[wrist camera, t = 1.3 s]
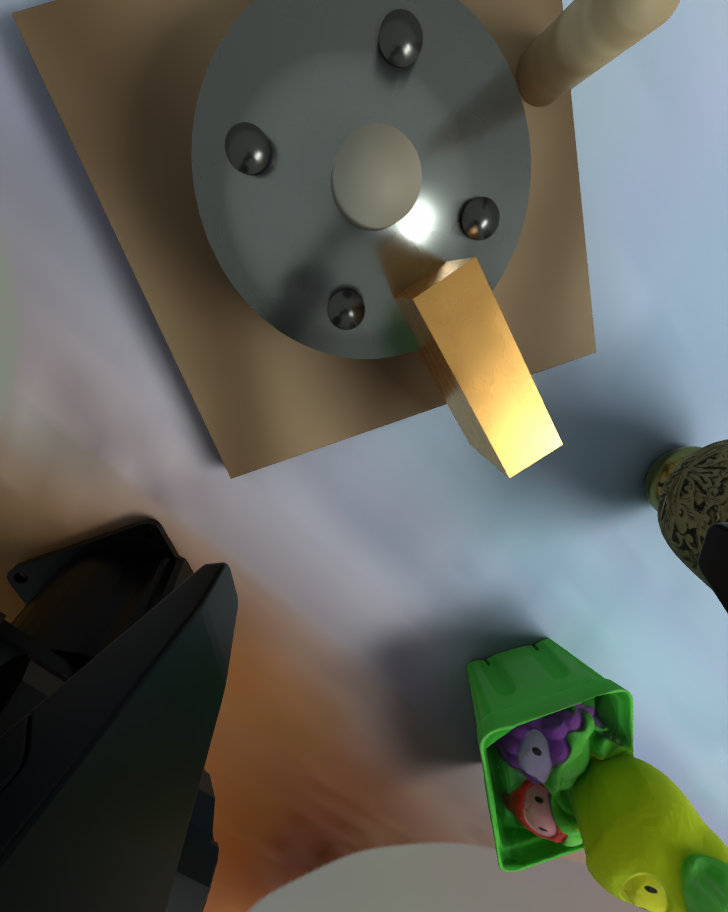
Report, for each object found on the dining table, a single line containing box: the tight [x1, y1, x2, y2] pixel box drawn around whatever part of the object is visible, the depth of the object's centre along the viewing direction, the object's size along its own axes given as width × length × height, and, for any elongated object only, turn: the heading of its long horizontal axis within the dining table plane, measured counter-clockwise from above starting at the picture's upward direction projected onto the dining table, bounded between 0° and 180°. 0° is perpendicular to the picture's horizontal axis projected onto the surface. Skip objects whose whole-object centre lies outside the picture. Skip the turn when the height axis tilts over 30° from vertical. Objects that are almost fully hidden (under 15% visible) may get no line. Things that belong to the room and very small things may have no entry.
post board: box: [12, 0, 596, 479], centre depth 14 cm, size 16×15×5 cm
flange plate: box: [191, 0, 563, 478], centre depth 13 cm, size 14×10×3 cm
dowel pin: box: [516, 0, 680, 107], centre depth 13 cm, size 2×2×5 cm
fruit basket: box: [467, 638, 728, 912], centre depth 22 cm, size 11×9×11 cm
